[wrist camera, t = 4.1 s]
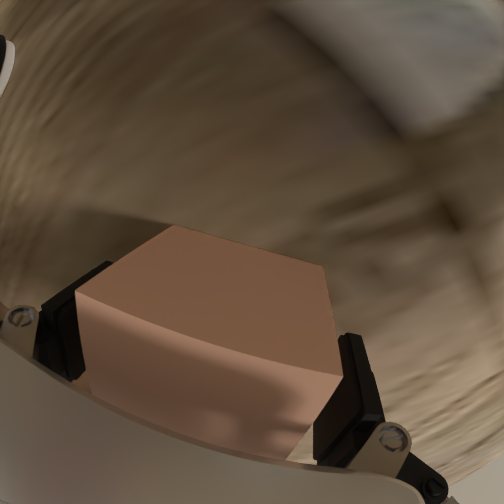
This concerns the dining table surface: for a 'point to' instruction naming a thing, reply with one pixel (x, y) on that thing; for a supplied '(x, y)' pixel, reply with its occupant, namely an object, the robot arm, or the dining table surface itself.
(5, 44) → the dixie cup
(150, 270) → the terracotta cube
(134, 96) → the dining table surface
